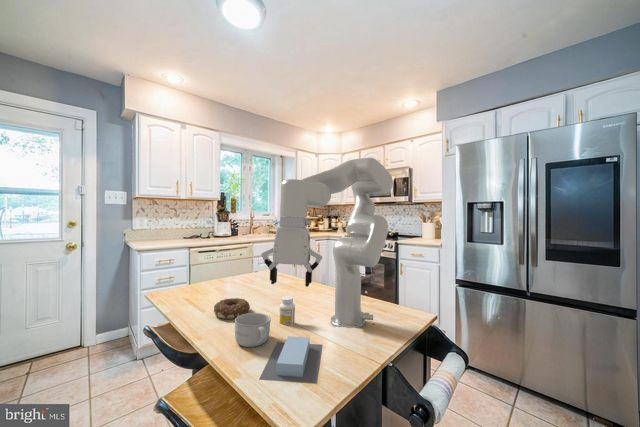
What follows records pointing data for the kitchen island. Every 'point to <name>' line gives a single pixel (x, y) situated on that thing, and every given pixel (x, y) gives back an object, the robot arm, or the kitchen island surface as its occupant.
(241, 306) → the donut
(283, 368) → the light blue block
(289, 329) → the kitchen island surface
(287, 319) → the supplement bottle
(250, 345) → the teacup
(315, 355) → the mat
